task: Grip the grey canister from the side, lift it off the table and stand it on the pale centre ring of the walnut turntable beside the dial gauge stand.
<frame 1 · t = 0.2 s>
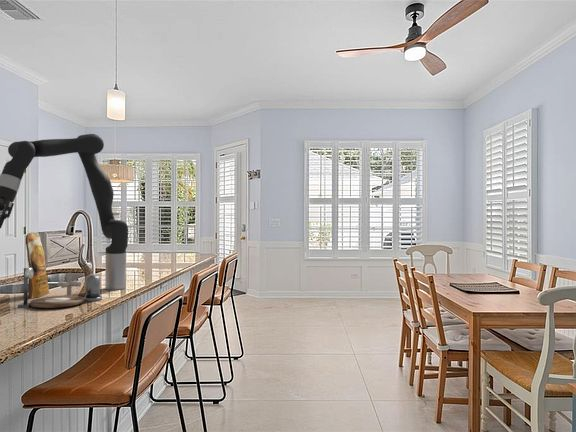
grey canister: (92, 300, 190), on the countertop
pipe connector: (69, 295, 199), on the countertop
dial stand: (25, 306, 175), on the countertop
turntable: (57, 304, 179), on the countertop
pancake mix bag: (37, 295, 199), on the countertop
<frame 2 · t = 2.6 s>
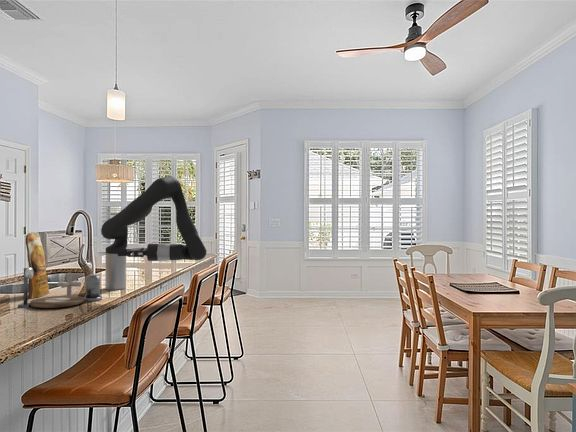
hand: (120, 252, 191), 20 cm above the countertop, tool horizontal, fingers open, 8 cm apart
nothing on the countertop moved.
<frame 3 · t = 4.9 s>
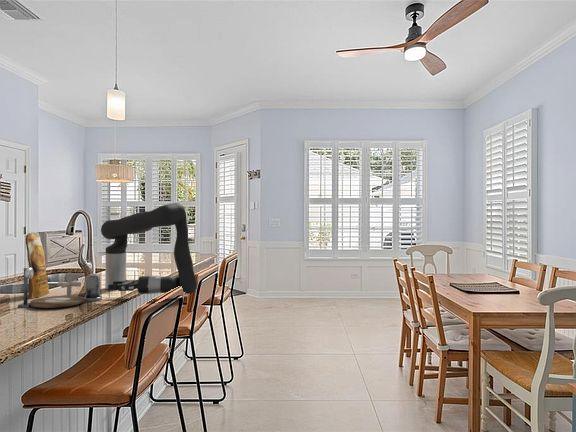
hand: (110, 285, 191), 6 cm above the countertop, tool horizontal, fingers open, 8 cm apart
nothing on the countertop moved.
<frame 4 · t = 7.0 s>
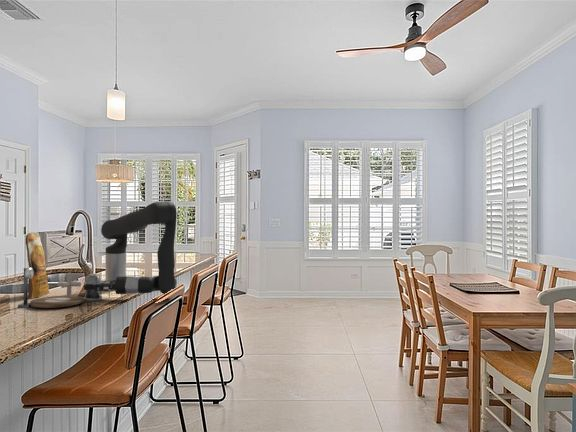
hand: (86, 285, 189), 6 cm above the countertop, tool horizontal, fingers closed on grey canister, 5 cm apart
grey canister: (92, 300, 190), on the countertop, touching gripper
everything else where it was.
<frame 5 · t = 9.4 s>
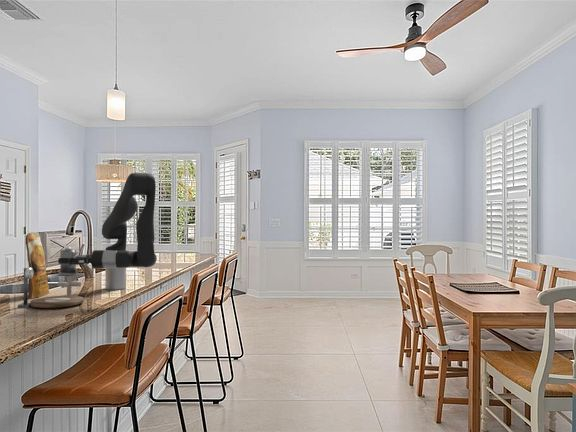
hand: (61, 260, 181), 18 cm above the countertop, tool horizontal, fingers closed on grey canister, 5 cm apart
grey canister: (68, 274, 181), point 12 cm above the countertop, touching gripper
everything else where it was.
when the fingers open (9 cm above the countertop, at t = 11.8 s): grey canister drops 1 cm, resting on turntable.
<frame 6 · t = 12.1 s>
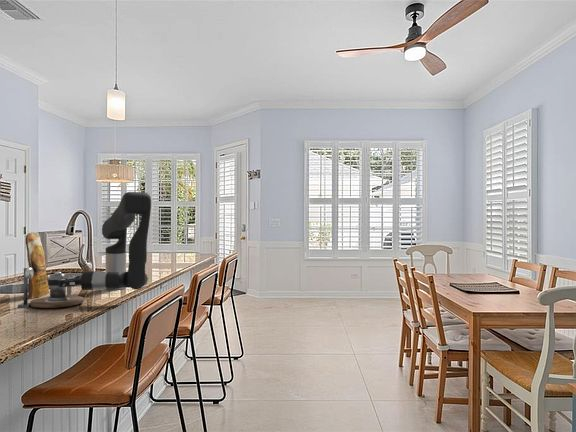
hand: (52, 281, 179), 9 cm above the countertop, tool horizontal, fingers open, 8 cm apart
grey canister: (57, 299, 179), point 2 cm above the countertop, touching turntable
everything else where it was.
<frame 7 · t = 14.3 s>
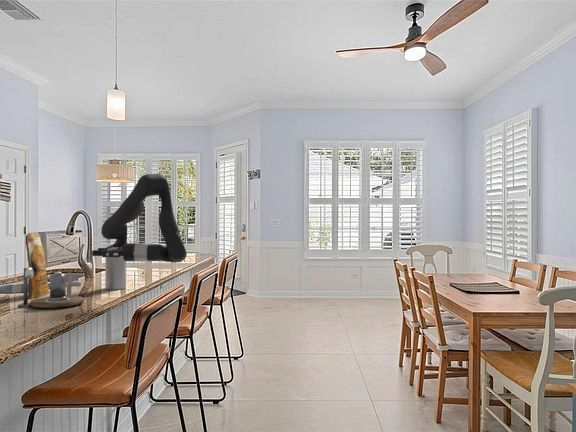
hand: (95, 251, 182), 21 cm above the countertop, tool horizontal, fingers open, 8 cm apart
nothing on the countertop moved.
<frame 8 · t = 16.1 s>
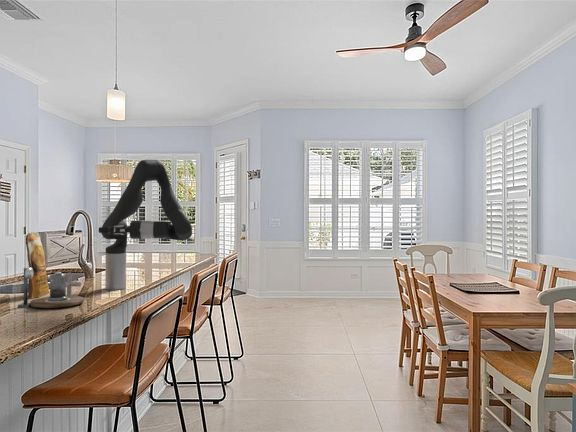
hand: (101, 229, 183), 30 cm above the countertop, tool horizontal, fingers open, 8 cm apart
nothing on the countertop moved.
at the end: grey canister 0.1 cm off-centre on the turntable, point 2.1 cm above the turntable's base; grey canister tilted 0°; the gripper is holding nothing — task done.
